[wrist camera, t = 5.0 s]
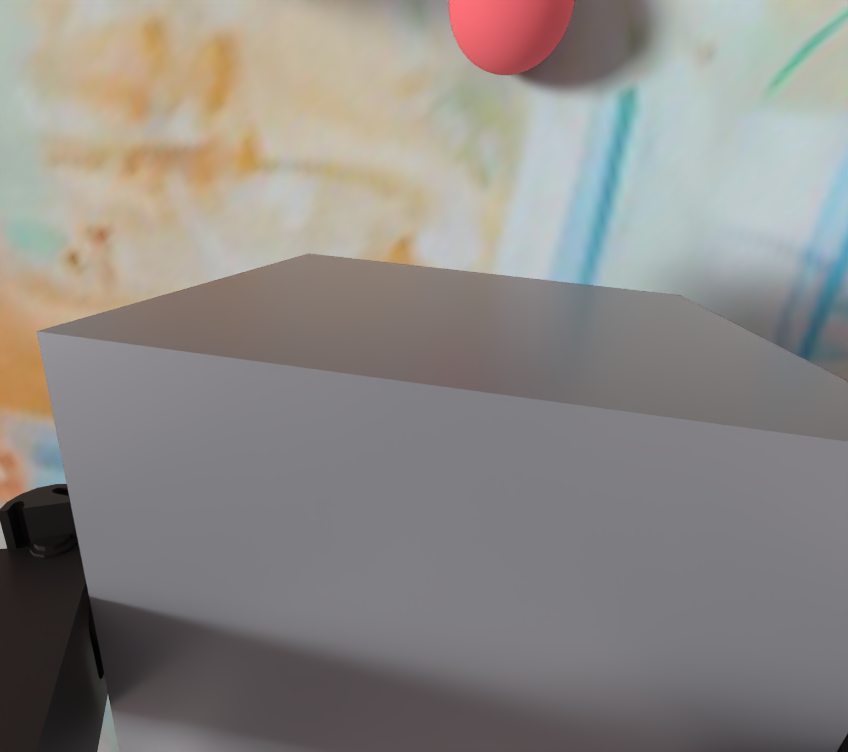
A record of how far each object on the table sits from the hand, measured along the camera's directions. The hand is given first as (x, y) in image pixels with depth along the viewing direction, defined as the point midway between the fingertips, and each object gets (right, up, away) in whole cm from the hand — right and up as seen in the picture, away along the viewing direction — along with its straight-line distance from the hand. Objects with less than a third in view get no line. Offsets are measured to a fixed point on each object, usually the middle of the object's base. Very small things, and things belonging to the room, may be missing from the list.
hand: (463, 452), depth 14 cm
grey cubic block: (0, 0, +1) cm, 1 cm away
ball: (+2, +17, +5) cm, 18 cm away
